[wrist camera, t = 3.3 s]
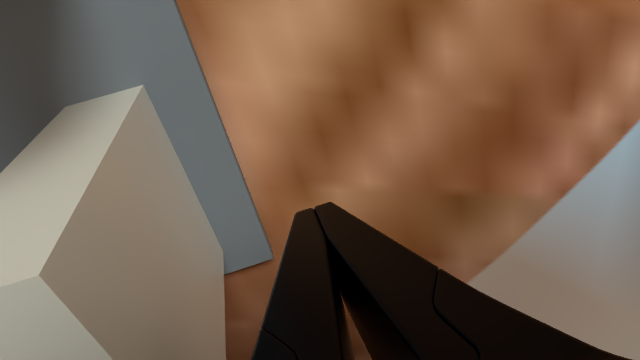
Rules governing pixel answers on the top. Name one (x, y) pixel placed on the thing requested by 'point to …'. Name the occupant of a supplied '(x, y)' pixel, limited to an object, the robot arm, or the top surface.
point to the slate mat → (121, 74)
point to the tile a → (107, 243)
